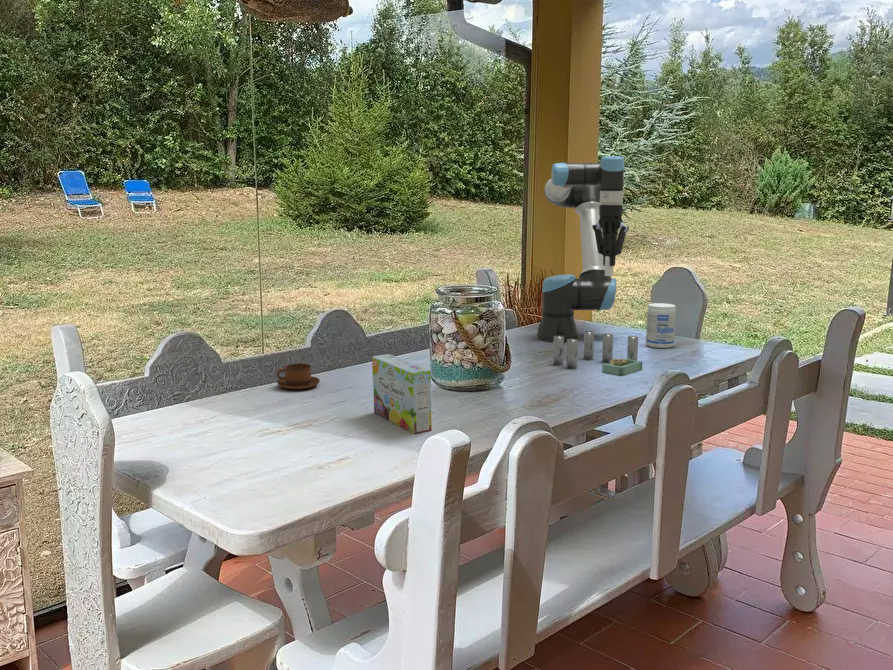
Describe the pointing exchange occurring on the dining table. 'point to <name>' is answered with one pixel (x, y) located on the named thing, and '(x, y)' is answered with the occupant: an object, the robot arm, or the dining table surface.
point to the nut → (618, 362)
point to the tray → (623, 368)
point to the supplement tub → (660, 325)
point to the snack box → (402, 393)
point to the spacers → (590, 349)
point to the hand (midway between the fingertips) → (608, 275)
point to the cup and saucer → (297, 377)
